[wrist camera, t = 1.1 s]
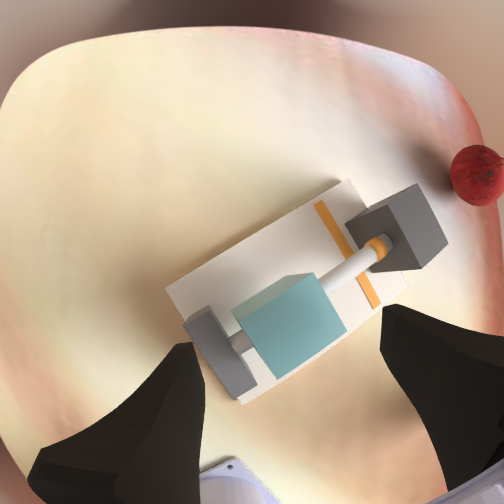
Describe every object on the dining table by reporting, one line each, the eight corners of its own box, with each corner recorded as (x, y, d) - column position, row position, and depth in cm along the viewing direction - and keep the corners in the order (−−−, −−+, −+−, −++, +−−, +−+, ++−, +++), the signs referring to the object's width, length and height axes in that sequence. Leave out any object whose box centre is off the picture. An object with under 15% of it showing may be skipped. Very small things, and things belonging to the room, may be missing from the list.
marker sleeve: (258, 354, 18) (277, 379, 13) (230, 310, 18) (238, 320, 13) (311, 319, 19) (347, 330, 14) (285, 275, 19) (313, 272, 14)
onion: (448, 220, 25) (508, 202, 17) (426, 164, 26) (481, 134, 18) (477, 204, 26) (531, 187, 18) (458, 155, 27) (508, 128, 19)
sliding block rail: (241, 400, 21) (255, 446, 14) (166, 287, 21) (146, 289, 14) (405, 282, 24) (464, 279, 17) (347, 179, 24) (393, 144, 17)
